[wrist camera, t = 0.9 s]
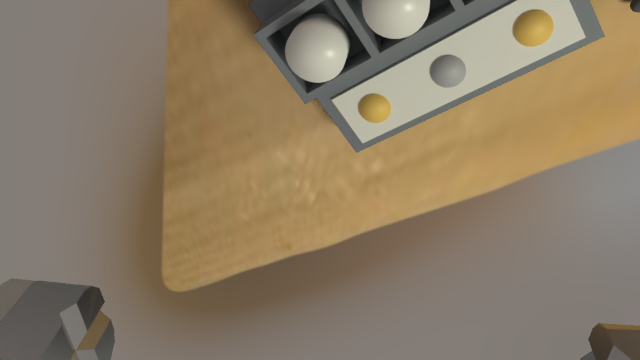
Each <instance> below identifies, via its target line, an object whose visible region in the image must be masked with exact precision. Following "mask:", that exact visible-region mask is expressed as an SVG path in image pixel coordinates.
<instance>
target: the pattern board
mask: <svg viewBox="0 0 640 360" xmlns="http://www.w3.org/2000/svg"><path fill="white" fill-rule="evenodd" d="M362 1H363V0H252V1H251V2H250V3H249V4H248V5H249V7H250V8H251V10H252V11H253V12H254V14H255V15H256V16H257V18H258V19H259V20H260V22H261V23H262V24H261V25H260V27H259V28H258V29H257V31H256V32H255V34H254V37H255V38H256V39H257V41H258V42H259V43H260V45H261V46H262V47H263V49H264V50H265V51H266V53H267V54H268V55H269V57H270V58H271V59H272V61H273V62H274V63H275V65H276V66H277V67H278V69H279V70H280V71H281V73H282V74H283V75H284V77H285V78H286V79H287V81H288V82H289V83H290V85H291V86H292V87H293V89H294V90H295V91H296V93H297V94H298V95H299V97H300V98H301V99H302V101H303V102H304V103H305V104H306V103H308V102H310V101H312V100H314V99H316V98H317V100H318V101H319V102H320V104H321V105H322V106H323V108H324V109H325V111H326V112H327V113H328V115H329V116H330V117H331V119H332V120H333V121H334V123H335V124H336V126H337V127H338V128H339V130H340V131H341V132H342V134H343V135H344V136H345V138H346V139H347V141H348V142H349V143H350V145H351V146H352V147H353V149H354V150H355V151H356V153H357V152H359V151H361V150H363V149H365V148H368V147H370V146H372V145H374V144H376V143H378V142H380V141H383V140H385V139H387V138H389V137H391V136H393V135H395V134H397V133H400V132H402V131H404V130H406V129H408V128H410V127H412V126H415V125H417V124H419V123H421V122H423V121H425V120H427V119H429V118H432V117H434V116H436V115H438V114H440V113H442V112H444V111H447V110H449V109H451V108H453V107H455V106H457V105H459V104H461V103H464V102H466V101H468V100H470V99H472V98H474V97H476V96H479V95H481V94H483V93H485V92H487V91H489V90H491V89H493V88H496V87H498V86H500V85H502V84H504V83H506V82H508V81H511V80H513V79H515V78H517V77H519V76H521V75H523V74H525V73H528V72H530V71H532V70H534V69H536V68H538V67H540V66H543V65H545V64H547V63H549V62H551V61H553V60H555V59H557V58H560V57H562V56H564V55H566V54H568V53H570V52H572V51H575V50H577V49H579V48H581V47H583V46H585V45H587V44H589V43H592V42H594V41H596V40H598V39H600V38H602V37H604V36H605V35H604V33H603V31H602V28H601V26H600V24H599V21H598V19H597V17H596V14H595V12H594V10H593V7H592V5H591V3H590V0H430V7H429V13H428V16H427V19H426V21H425V23H424V24H423V26H422V27H421V28H420V29H419V30H418V31H417V32H415V33H414V34H412V35H410V36H408V37H405V38H400V39H390V38H386V37H383V36H381V35H379V34H377V33H375V32H374V31H373V30H372V29H371V28H370V27H369V26H368V24H367V22H366V21H365V18H364V16H363V11H362ZM317 13H320V14H327V15H330V16H332V17H334V18H336V19H337V20H338V21H340V22H341V23H342V24H343V26H344V27H345V28H346V30H347V32H348V35H349V38H350V49H349V53H348V56H347V58H346V61H345V64H344V67H343V69H342V70H341V72H340V73H339V74H338V75H337V76H336V77H335V78H333V79H331V80H329V81H326V82H321V83H315V82H309V81H306V80H304V79H302V78H300V77H299V76H298V75H296V74H295V73H294V72H293V71H292V69H291V68H290V66H289V65H288V63H287V60H286V56H285V47H286V43H287V40H288V38H289V36H290V35H291V33H292V31H293V30H294V28H295V26H296V25H297V23H298V22H299V21H300V20H301V19H303V18H304V17H306V16H308V15H311V14H317Z"/></svg>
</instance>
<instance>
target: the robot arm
mask: <svg viewBox="0 0 640 360" xmlns="http://www.w3.org/2000/svg"><path fill="white" fill-rule="evenodd" d="M104 302H105V301H104V298H103V296H102V293H101V291H100V289H99V288H97V287H93V286H85V285H75V284H66V283H57V282H46V281H33V280H22V279H10V280H8V281H7V282H4V283H2V284H1V285H0V360H110V359H111V356H112V351H113V347H114V342H115V340H114V328H113V325H112V322H111V319H109V318H108V317H107V316H106V315H105V314H104V313H102V312H101V311H100V309H101V307H102V305H103V304H104ZM588 340H589V343H590V345H591V348H592V351H591V352H590V353H588V354H587V355H585V356H583V357H582V358H581V360H640V326H634V325H619V324H603V323H598V324H597V325H596V326H595V327H594V328H593V329H592V332H591V334H590V336H589V339H588Z"/></svg>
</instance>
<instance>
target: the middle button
mask: <svg viewBox="0 0 640 360" xmlns="http://www.w3.org/2000/svg"><path fill="white" fill-rule="evenodd" d="M429 7H430V0H363V1H362V11H363V16H364V18H365V21H366V22H367V24H368V26H369V27H370V28H371V29H372V30H373V31H374V32H375V33H377V34H379V35H381V36H383V37H386V38H390V39H400V38H405V37H408V36H410V35H412V34H414V33H415V32H417V31H418V30H419V29H420V28H421V27H422V26H423V24H424V23H425V21H426V19H427V16H428V13H429Z"/></svg>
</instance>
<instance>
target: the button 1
mask: <svg viewBox="0 0 640 360" xmlns="http://www.w3.org/2000/svg"><path fill="white" fill-rule="evenodd" d="M349 49H350V38H349V35H348V32H347V30H346V28H345V27H344V26H343V24H342V23H341V22H340V21H338V20H337V19H336V18H334V17H332V16H330V15H327V14H320V13H317V14H311V15H308V16H306V17H304V18H303V19H301V20H300V21H299V22H298V23H297V25H296V26H295V28H294V30H293V31H292V33H291V35H290V36H289V38H288V40H287V43H286V47H285V56H286V60H287V63H288V65H289V66H290V68H291V69H292V71H293V72H294V73H295V74H296V75H298V76H299V77H300V78H302V79H304V80H306V81H309V82H315V83H321V82H326V81H329V80H331V79H333V78H335V77H336V76H337V75H338V74H339V73H340V72H341V70H342V69H343V67H344V64H345V61H346V58H347V56H348V53H349Z"/></svg>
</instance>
